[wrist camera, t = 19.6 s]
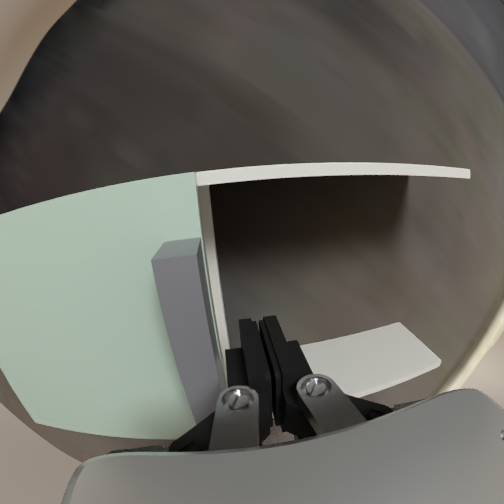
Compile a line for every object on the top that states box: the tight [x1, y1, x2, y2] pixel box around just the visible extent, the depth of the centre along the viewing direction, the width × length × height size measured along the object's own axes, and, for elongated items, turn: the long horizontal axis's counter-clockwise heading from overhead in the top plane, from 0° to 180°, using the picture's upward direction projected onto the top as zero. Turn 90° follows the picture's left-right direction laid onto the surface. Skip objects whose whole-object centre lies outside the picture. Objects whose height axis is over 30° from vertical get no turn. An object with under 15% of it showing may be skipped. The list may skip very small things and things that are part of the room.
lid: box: [0, 172, 228, 439], centre depth 11 cm, size 15×16×3 cm
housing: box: [196, 163, 470, 418], centre depth 17 cm, size 15×32×7 cm, turn 95°
